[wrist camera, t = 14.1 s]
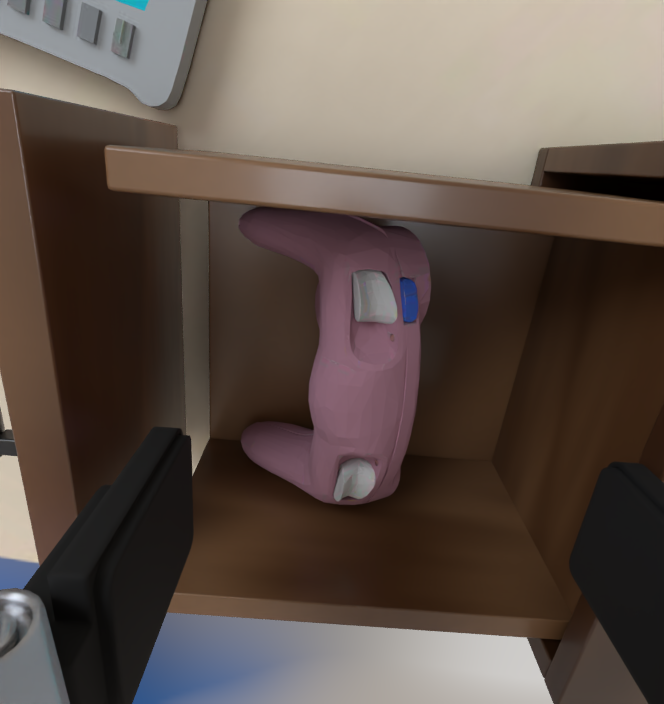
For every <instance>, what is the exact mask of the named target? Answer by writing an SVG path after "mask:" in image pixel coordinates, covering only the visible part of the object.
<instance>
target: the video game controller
mask: <svg viewBox="0 0 664 704" xmlns="http://www.w3.org/2000/svg"><path fill="white" fill-rule="evenodd" d="M238 228H239V229H240V231H241V233H242V234H243V235H244V236H245V237H246V238H247V239H249V240H250V241H251V242H253V243H254V244H255V245H257V246H259V247H262V248H265V249H268V250H271V251H273V252H276V253H279V254H282V255H285V256H288V257H290V258H292V259H294V260H296V261H298V262H301V263H303V264H304V265H306V266H308V267H310V268H311V269H313V270H314V271H315V273H316V274H317V275H318V278H319V283H318V285H317V289H316V293H315V311H316V319H317V322H318V326H319V329H320V337H319V346H318V349H317V353H316V356H315V360H314V363H313V368H312V372H311V377H310V381H309V398H308V401H309V407H310V413H311V418H312V422H313V425H314V430H311V429H308V428H304V427H301V426H297V425H294V424H289V423H282V422H274V421H266V422H256V423H254V424H252V425H250V426H249V427H247V428H246V429H245V430H244V431H243V433H242V436H241V444H242V448H243V450H244V452H245V453H246V454H247V456H248V457H249V458H250V459H251V460H252V461H253V462H254V463H256V464H258V465H259V466H261V467H263V468H264V469H266V470H268V471H269V472H271V473H273V474H275V475H277V476H279V477H281V478H283V479H285V480H287V481H289V482H291V483H292V484H294V485H296V486H297V487H299V488H300V489H302V490H304V491H305V492H307V493H308V494H310V495H311V496H313V497H314V498H316V499H318V500H320V501H322V502H324V503H332V504H339V505H357V504H365V503H369V502H372V501H375V500H379V499H382V498H385V497H388V496H390V495H391V494H393V493H394V491H395V490H396V488H397V486H398V484H399V481H400V472H401V464H402V461H403V458H404V456H405V453H406V450H407V447H408V444H409V440H410V436H411V431H412V427H413V422H414V417H415V412H416V406H417V397H418V388H419V378H420V361H421V333H420V324H421V323H422V321H423V319H424V317H425V315H426V312H427V309H428V305H429V302H430V292H431V277H430V268H429V262H428V259H427V256H426V253H425V250H424V248H423V246H422V244H421V242H420V240H419V239H418V238H417V237H416V235H415V234H413V233H412V232H411V231H410V230H408V229H406V228H404V227H400V226H378V225H377V224H375V223H373V222H371V221H369V220H367V219H365V218H362V217H359V216H351V215H341V214H332V213H322V212H312V211H302V210H293V209H283V208H273V207H258V208H255V209H252V210H249V211H247V212H246V213H244V214H243V215H242V216H241V218H240V219H239V224H238Z"/></svg>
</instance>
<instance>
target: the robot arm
mask: <svg viewBox="0 0 664 704" xmlns="http://www.w3.org/2000/svg"><path fill="white" fill-rule="evenodd" d="M193 535H194V526H193V490H192V454H191V438H190V436H188V435H183V432H182V429H181V428H171V427H158V426H155V427H153V428H152V429H151V431H150V432H149V433H148V435H147V436H146V438H145V439H144V441H143V442H142V443H141V445H140V446H139V448H138V449H137V450H136V452H135V453H134V455H133V456H132V457H131V459H130V460H129V462H128V463H127V464H126V466H125V467H124V469H123V470H122V471H121V473H120V474H119V476H118V477H117V478H116V480H115V481H114V483H113V484H112V485H106V484H105V485H103V486H101V487H100V488H99V489H98V490H97V491H96V492H95V494H94V495H93V496H92V498H91V499H90V500H89V502H88V503H87V504H86V506H85V507H84V508H83V510H82V511H81V512H80V514H79V515H78V516H77V518H76V519H75V520H74V522H73V523H72V524H71V526H70V527H69V528H68V530H67V531H66V532H65V534H64V535H63V536H62V538H61V539H60V540H59V542H58V543H57V544H56V546H55V547H54V548H53V550H52V551H51V552H50V554H49V555H48V556H47V558H46V559H45V560H44V562H43V563H42V564H41V566H40V567H39V568H38V570H37V571H36V572H35V574H34V575H33V576H32V578H31V579H30V581H29V582H28V583H27V585H26V586H25V588H24V589H17V588H13V589H2V590H0V704H132V702H133V700H134V697H135V695H136V692H137V689H138V687H139V684H140V681H141V678H142V676H143V673H144V671H145V668H146V666H147V663H148V660H149V657H150V655H151V652H152V649H153V647H154V644H155V642H156V639H157V637H158V634H159V631H160V629H161V626H162V623H163V621H164V618H165V616H166V613H167V610H168V608H169V605H170V602H171V600H172V597H173V595H174V592H175V589H176V587H177V584H178V581H179V579H180V576H181V573H182V571H183V568H184V566H185V563H186V560H187V558H188V555H189V552H190V550H191V546H192V542H193ZM569 568H570V572H571V575H572V577H573V578H574V580H575V582H576V583H577V585H578V587H579V589H580V590H581V592H582V594H583V595H584V597H585V599H586V600H587V602H588V604H589V605H590V607H591V609H592V610H593V612H594V614H595V615H596V617H597V619H598V620H599V622H600V624H601V625H602V627H603V629H604V630H605V632H606V634H607V635H608V637H609V639H610V640H611V642H612V644H613V646H614V647H615V649H616V651H617V652H618V654H619V656H620V657H621V659H622V661H623V662H624V664H625V666H626V667H627V669H628V671H629V672H630V674H631V676H632V677H633V679H634V681H635V682H636V684H637V686H638V687H639V689H640V691H641V692H642V694H643V696H644V697H645V699H646V701H647V702H648V704H664V483H663V482H662V481H661V480H660V479H659V478H658V477H657V476H656V475H654V474H653V473H652V472H651V471H650V470H649V469H648V468H647V467H646V466H644V465H643V464H639V463H628V462H611V463H610V464H609V465H608V467H606V468H603V469H602V470H601V472H600V474H599V477H598V480H597V483H596V485H595V488H594V491H593V494H592V497H591V499H590V502H589V505H588V508H587V511H586V513H585V516H584V519H583V522H582V525H581V527H580V530H579V533H578V536H577V539H576V541H575V544H574V547H573V550H572V553H571V555H570V559H569Z"/></svg>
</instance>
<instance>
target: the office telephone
mask: <svg viewBox="0 0 664 704" xmlns="http://www.w3.org/2000/svg"><path fill="white" fill-rule="evenodd" d="M206 4H207V0H0V34H3V35H5V36H8V37H10V38H13V39H15V40H18V41H20V42H23V43H25V44H28V45H30V46H33V47H35V48H37V49H40V50H42V51H45V52H47V53H49V54H52V55H54V56H57V57H59V58H61V59H64V60H66V61H69V62H71V63H73V64H76V65H78V66H81V67H83V68H85V69H88V70H90V71H92V72H95V73H97V74H100V75H102V76H104V77H107V78H109V79H111V80H113V81H115V82H117V83H119V84H120V85H122V86H124V87H126V88H128V89H129V90H130V91H131V92H132V93H133V94H134V95H135V96H136V97H137V98H138V100H139V101H140V102H141V103H143V104H145V105H148V106H150V107H153V108H156V109H159V110H169V109H171V108H173V107H174V106H176V105H177V103H178V101H179V99H180V97H181V94H182V91H183V88H184V85H185V81H186V78H187V75H188V72H189V68H190V65H191V61H192V57H193V53H194V49H195V46H196V42H197V38H198V34H199V30H200V26H201V23H202V19H203V15H204V11H205V7H206Z"/></svg>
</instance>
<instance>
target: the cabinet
mask: <svg viewBox="0 0 664 704" xmlns="http://www.w3.org/2000/svg"><path fill="white" fill-rule="evenodd" d="M531 186H540V187H549V188H559V189H568V190H578V191H586V192H594V193H602V194H610V195H618V196H626V197H634V198H642V199H650V200H659V201H664V141H654V142H637V143H619V144H602V145H585V146H568V147H551V148H541V149H540V151H539V155H538V159H537V163H536V167H535V171H534V175H533V179H532V183H531ZM638 463H639V464H643V465H644V466H646V467H647V468H648V469H649V470H650V471H651V472H652V473H653V474H654V475H656V476H657V477H658V478H659V479H660V480H661V481H662V482H663V483H664V403H663V406H662V408H661V410H660V413H659V415H658V417H657V420H656V422H655V424H654V427H653V429H652V431H651V433H650V436H649V438H648V440H647V443H646V445H645V447H644V450H643V452H642V454H641V457H640V459H639V461H638ZM527 639H528V641H529V643H530V646H531V648H532V651H533V653H534V656H535V658H536V660H537V663H538V666H539V668H540V670H541V673H542V675H543V677H544V678H545V683H546V686H547V688H548V691H549V693H550V696H551V698H552V701H553V703H554V704H648V702H647V701H646V699H645V697H644V696H643V694H642V692H641V691H640V689H639V687H638V686H637V684H636V682H635V681H634V679H633V677H632V676H631V674H630V672H629V671H628V669H627V667H626V666H625V664H624V662H623V661H622V659H621V657H620V656H619V654H618V652H617V651H616V649H615V647H614V646H613V644H612V642H611V640H610V639H609V637H608V635H607V634H606V632H605V630H604V629H603V627H602V625H601V624H600V622H599V620H598V619H597V617H596V615H595V614H594V612H593V610H592V609H591V607H590V605H589V604H588V602H587V600H586V599H585V597H584V595H583V594H582V593H581V596H580V598H579V600H578V602H577V605H576V607H575V609H574V612H573V614H572V616H571V619H570V621H569V623H568V626H567V628H566V630H565V633H564V635H563V637H562V640H557V639H542V638H528V637H527Z"/></svg>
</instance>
